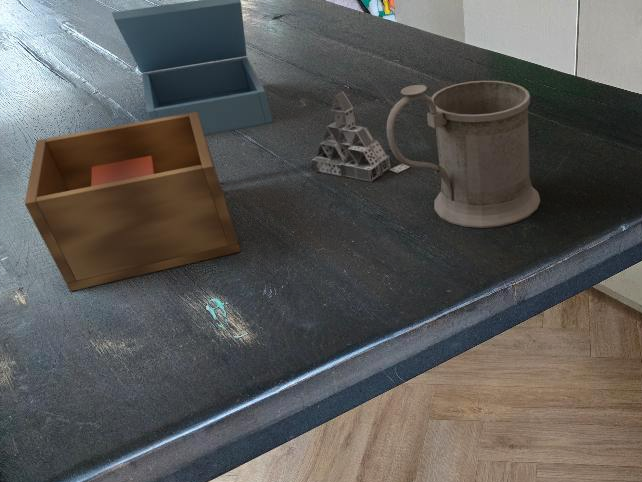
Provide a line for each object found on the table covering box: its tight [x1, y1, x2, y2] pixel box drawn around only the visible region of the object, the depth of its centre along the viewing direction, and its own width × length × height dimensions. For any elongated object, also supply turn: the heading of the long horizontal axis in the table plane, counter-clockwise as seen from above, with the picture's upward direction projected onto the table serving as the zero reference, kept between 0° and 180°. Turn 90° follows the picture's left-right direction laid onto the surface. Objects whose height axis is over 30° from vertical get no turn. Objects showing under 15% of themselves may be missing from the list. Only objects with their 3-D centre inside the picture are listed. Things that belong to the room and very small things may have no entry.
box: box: [141, 56, 274, 136], centre depth 86 cm, size 15×13×4 cm
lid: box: [111, 0, 248, 74], centre depth 82 cm, size 15×13×1 cm
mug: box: [386, 80, 541, 229], centre depth 63 cm, size 14×10×12 cm
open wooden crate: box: [24, 112, 241, 292], centre depth 63 cm, size 14×14×8 cm
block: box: [91, 156, 158, 186], centre depth 64 cm, size 5×5×5 cm
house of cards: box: [311, 90, 410, 183], centre depth 73 cm, size 9×9×8 cm
